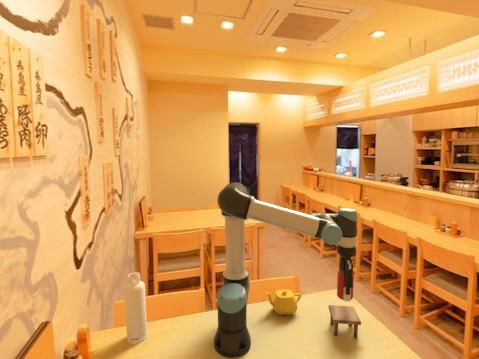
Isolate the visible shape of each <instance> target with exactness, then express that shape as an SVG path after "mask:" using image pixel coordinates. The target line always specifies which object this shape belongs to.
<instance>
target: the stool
mask: <svg viewBox="0 0 479 359" xmlns="http://www.w3.org/2000/svg"><path fill="white" fill-rule="evenodd" d="M328 310H329V313H330V323H329V324H330V325H333V336H334V337H338V336H339V324H341V325H348V326H350V327H352V326H353V334H352V336H353V338H355V339H358V332H359V329H358V328H359V326H361V325H362V322H361V319H360V317H359V314H358V312H357V310H356V309H355V307H354V306H349V305H335V304H333V305H332V304H328Z"/></svg>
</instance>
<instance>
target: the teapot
mask: <svg viewBox="0 0 479 359" xmlns="http://www.w3.org/2000/svg"><path fill="white" fill-rule="evenodd" d="M265 294H266V295H267V297H268V301H269V304H270V305H271V306H272V308H273V310H274V311H275V313H276V314H278V316H281V317H282V316H283V315H284V316H285V315H286V316H287V315H289V316H293V315H294V314H296V312H297V311H298V302H299V301H300V300H301V299H302V294H301V293H299V292H296V293H294V292H293V291H292V290H291V289H277V290H275V292H274V294H273V297H272V294H271V293H270V292H268V291H267V292H265ZM296 297H297V298H296Z"/></svg>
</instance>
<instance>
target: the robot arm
mask: <svg viewBox="0 0 479 359" xmlns="http://www.w3.org/2000/svg"><path fill="white" fill-rule="evenodd" d="M216 202H217V206H218V207H219V210H221V211H220V212H221V214H220V215H221V216H222V217H223V218H224V226H225V227H224V228H225V230H224V231H225V233H224V235H225V268H226V269H225V270H223V272H222V286H221V287H220V288H219V289H218V292H217V297H216V304H217V329H216V331H215V335H214V339H213V347H214V350H215V352H216V353H217V354H218V355H220V356H222V357H225V358H239V357H242V356H244V355H246V354H247V353H248V352H249V350H250V349H251V346H252V338H251V334H250V332H249V330H248V329H249V328H248V326H247V307H248V306H247V305H248V299H249V293H250V292H249V291H250V288H251V283H250V279H249V277H250V276H249V273H250V272H249V270H247V269H246V242H245V241H246V238H245V237H246V235H245V234H246V231H245V226H246V225H245V221H248V220H249V219H250V220H255V221H257V222H261V223H265V224H267V225H271V226H275V227H278V228H281V229H285V230H289V231H293V232H296V233H299V234H302V235H306V236H309V237H313V238H317V239H319V240H322V241H323V242H324V243H325V244H327V245H331V246H332V245H333V246H334V245H336V253H337V254H338V255H339V264H338V266H339V267H338V270H339V269H341V268H343V270H344V283H345V285H343V287H344V294H343V300H342V301H343V302H351V300H350V299H351V288H353V289H354V285H353V275H354V264H353V260H352V257H355V256H356V255H357V240H359V239H358V237H357V229H358V212H357V210H355V209H353V208H350V207H342V208H341V207H340V208H339V209H338V210H337V213H327V212H326V213H325V212H324V213H321V212H320V213H319V212H316V213H315V212H313V213H310V214H307V213H303V212H299V211H297V210H292V209H289V208H286V207H282V206H278V205H276V204H272V203H268V202H264V201H261V200H257V199H256V198H255V196H253V195H250V193H249V190H248V189H247V187H246V186H245V185H243V184H242V183H240V182H230V183H228V184H227V185H225V186H224V187H223V188H222V189H221V190H220V192H219V194H218V196H217V201H216Z"/></svg>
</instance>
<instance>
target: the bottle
mask: <svg viewBox="0 0 479 359" xmlns="http://www.w3.org/2000/svg"><path fill="white" fill-rule="evenodd" d="M131 275H135V276H133V277H132V276H131ZM127 281H128V282H127V283H126V285H124V290H123V291H124V308H125V309H124V310H125V322H126V323H125V324H126V325H125V326H126V340H128V341H127V343H129V342H130V343H129V344H131V343H133V344H132V345H135V344H134V343H137V344H140V343H142V342H144V341H145V340H146V339H147V338H146V337H148V324H147V321H148V319H147V303H146V302H147V301H146V284H145V282H144V281H142V280H141V273H140V272H139V271H135V272H131V273H129V274H127ZM143 340H144V341H143Z"/></svg>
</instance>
